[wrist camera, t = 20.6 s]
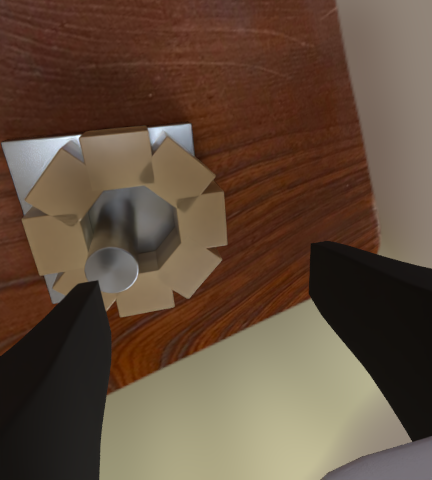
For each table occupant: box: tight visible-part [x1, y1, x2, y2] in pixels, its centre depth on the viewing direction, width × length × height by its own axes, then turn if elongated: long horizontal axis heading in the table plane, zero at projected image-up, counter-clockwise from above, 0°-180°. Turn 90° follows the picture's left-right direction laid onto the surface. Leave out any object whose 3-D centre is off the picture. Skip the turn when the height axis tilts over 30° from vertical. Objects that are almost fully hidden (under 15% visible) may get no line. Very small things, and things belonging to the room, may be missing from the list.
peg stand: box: [1, 121, 195, 304], centre depth 16 cm, size 9×9×7 cm
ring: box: [21, 125, 227, 317], centre depth 18 cm, size 9×9×2 cm
